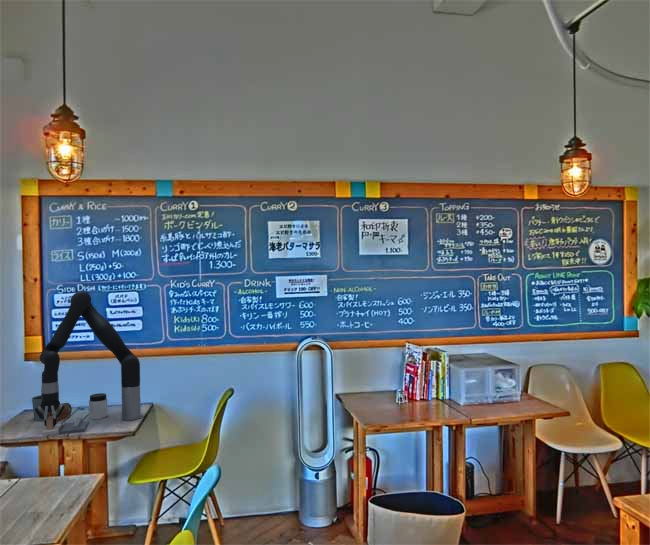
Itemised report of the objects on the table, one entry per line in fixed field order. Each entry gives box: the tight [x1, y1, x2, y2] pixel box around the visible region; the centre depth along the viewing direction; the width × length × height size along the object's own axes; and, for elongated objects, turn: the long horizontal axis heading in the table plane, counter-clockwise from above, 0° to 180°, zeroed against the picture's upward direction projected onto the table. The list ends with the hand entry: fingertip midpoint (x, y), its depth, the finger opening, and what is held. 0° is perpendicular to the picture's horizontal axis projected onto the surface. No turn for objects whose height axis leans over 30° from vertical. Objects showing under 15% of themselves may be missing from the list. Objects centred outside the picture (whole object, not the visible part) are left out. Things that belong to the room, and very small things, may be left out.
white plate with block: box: [41, 416, 64, 436], centre depth 240 cm, size 7×12×6 cm, turn 19°
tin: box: [48, 402, 73, 423], centre depth 259 cm, size 15×3×8 cm, turn 168°
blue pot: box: [31, 394, 45, 422], centre depth 261 cm, size 10×10×12 cm
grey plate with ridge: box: [58, 416, 90, 435], centre depth 243 cm, size 11×15×4 cm
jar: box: [88, 392, 108, 420], centre depth 263 cm, size 9×8×12 cm
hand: (50, 426), depth 239 cm, fingers closed on white plate with block, 2 cm apart
